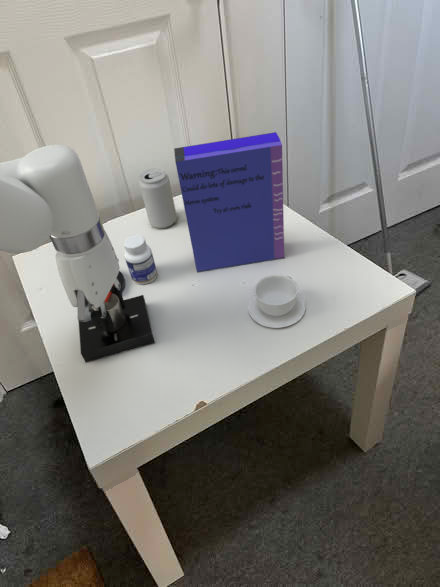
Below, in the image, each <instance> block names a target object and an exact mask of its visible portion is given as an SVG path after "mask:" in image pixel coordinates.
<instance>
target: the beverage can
mask: <svg viewBox="0 0 440 587" xmlns="http://www.w3.org/2000/svg"><path fill="white" fill-rule="evenodd" d="M138 184H139V188H140V192H141V196H142V200H143V204H144V208H145V213H146V216H147V220H148V223H149V225H150V226H151V227H153V228H156V229H166V228H169V227H171V226H173V225H174V223H176V221H177V219H178V216H177V210H176V206H175V201H174V196H173V190H172V187H171V181H170V177H169V175H168V174H167V171H166V170H165V169H163V168H149V169H146V170H144V171H143V172H142V173H140V174H139V181H138Z"/></svg>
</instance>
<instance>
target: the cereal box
mask: <svg viewBox="0 0 440 587" xmlns="http://www.w3.org/2000/svg"><path fill="white" fill-rule="evenodd" d="M173 151H174V160H175V161H174V163H175V166H176V172H177V176H178V183H179V187H180V192H181V198H182V202H183V208H184V214H185V218H186V223H187V228H188V229H187V230H188V233H189V239H190V244H191V249H192V254H193V259H194V264H195V270H196V273H201V272H202V273H203V272H209V271H215V270H219V269H220V270H221V269H227V268H232V267H240V266H246V265H251V264H258V263H263V262H270V261H276V260H282V259H285V227H284V225H285V224H284V223H285V222H284V220H285V219H284V180H283V179H284V175H283V172H284V169H283V167H284V166H283V142H282V141H281V139H280V137H279V134H278V133H277V131H274V132H268V133H262V134H261V133H260V134H255V135H249V136H243V137H237V138H231V139H225V140H218V141H213V142H205V143H200V144H195V145H188V146H179V147H174V148H173Z"/></svg>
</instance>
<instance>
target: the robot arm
mask: <svg viewBox="0 0 440 587" xmlns="http://www.w3.org/2000/svg"><path fill="white" fill-rule="evenodd" d="M49 239H50V241H51V243H52V246H53V247H54V250H55V252H56V254H55V264H56V266H57V272H58V274H59V277H60V281H61V284H62V287H63V290H64V291H65V294H66V296H67V298H68V301H69V303H70V305H71V306H72V307H73V308H77V321H78V322H79V321H83V322H87V321H90V320H91V319H92V321H93V323H94V325H95V327H96V329H97V330H98V331H102V332H114V331H115V327H114V324H113V322H112V319H111V317H110V314H109V313H106V310H105V305H104V301H105V299H106V297H107V295H108V293H109V292H112V293H113V294H115V295H117V296H118V298H119V301H120V304H121V306H122V309H125V307H126V305H125V302H124V300H125V299H124V297H123V294H122V293H121V291H119V290H120V283H119V281H118V275H119V274H118V273H119V271H120V263H119V262H120V261H119V258H118V256H117V254H116V251H115V248H114V246H113V244H112V242H111V239H110V237H109V235H108V233H107V232H106V230H105V227H104V224H103V221H102V219H101V215H100V214H99V211H98V207H97V205H96V202H95V198H94V197H93V194H92V191H91V187H90V184H89V181H88V179H87V176H86V173H85V171H84V168H83V165H82V162H81V159H80V157H79V155H78V153H77V152H76V151H75V150H74V149H73V148H71V147H70V146H67V145H64V144H50V145H49V144H48V145H45V146H41V147H39V148H35V149H34V150H32V151H30V152H28V153H27V154H25V156H21V157H19V158H15V159H11V160H7V161H3V162H0V251H1V252H5V253H11V254H25V253H29V252H33V251H34V250H37V249H39V248H40V247H42V246H43V245H44V244H45V243H47V241H48V240H49ZM92 306H94V307H95V308H98V310H99V311H98V310H93V307H92Z"/></svg>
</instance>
